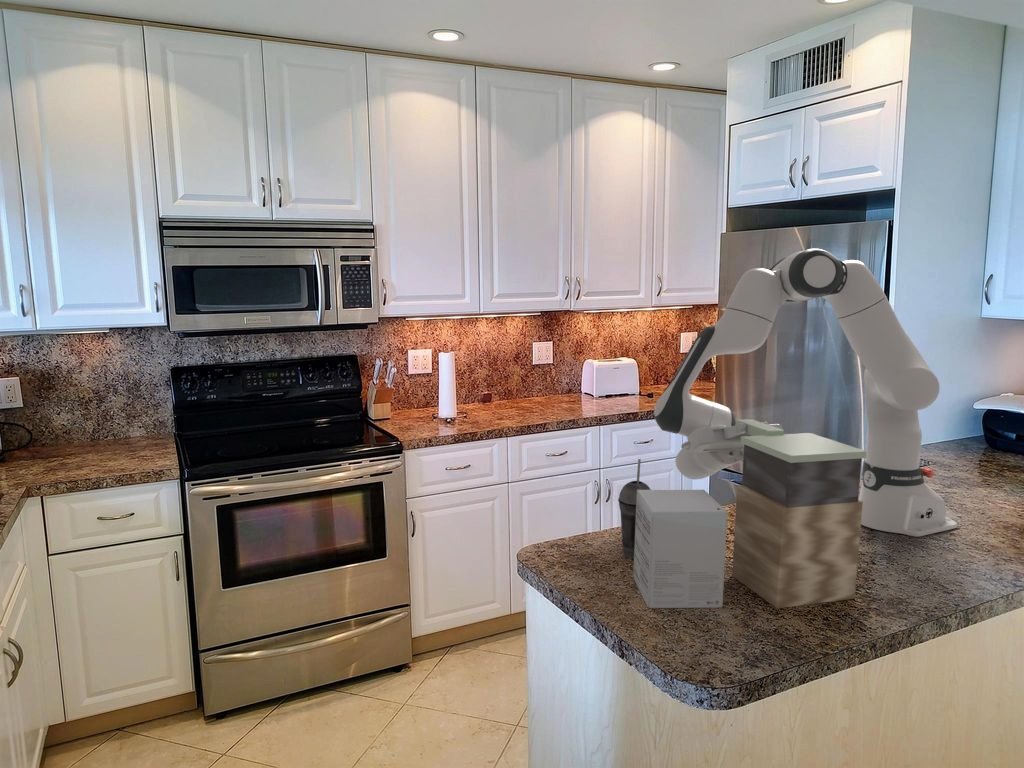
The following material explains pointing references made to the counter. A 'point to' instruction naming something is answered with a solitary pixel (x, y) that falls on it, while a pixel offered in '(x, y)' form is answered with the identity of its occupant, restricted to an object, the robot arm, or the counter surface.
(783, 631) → the counter surface
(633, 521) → the beverage cup
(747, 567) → the tub stand
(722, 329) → the robot arm
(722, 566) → the supplement box
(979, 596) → the counter surface
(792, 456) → the lid
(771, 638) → the counter surface
